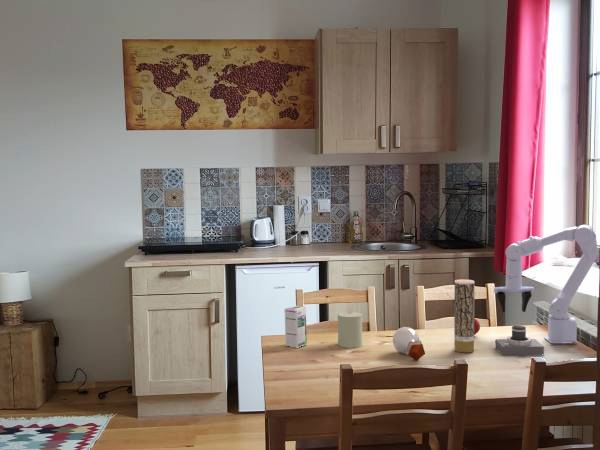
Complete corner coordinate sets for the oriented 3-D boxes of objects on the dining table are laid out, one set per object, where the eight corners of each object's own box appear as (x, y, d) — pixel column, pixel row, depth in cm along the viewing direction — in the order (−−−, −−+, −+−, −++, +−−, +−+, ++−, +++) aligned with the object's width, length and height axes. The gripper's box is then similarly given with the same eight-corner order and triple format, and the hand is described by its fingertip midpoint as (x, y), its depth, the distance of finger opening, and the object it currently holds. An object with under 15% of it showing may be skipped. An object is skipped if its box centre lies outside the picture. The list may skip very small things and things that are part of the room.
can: (362, 341, 261) (362, 310, 259) (362, 348, 252) (362, 315, 250) (338, 341, 262) (337, 310, 260) (337, 348, 252) (336, 315, 251)
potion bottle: (403, 352, 250) (419, 369, 236) (383, 339, 247) (398, 355, 233) (418, 331, 250) (435, 347, 235) (398, 318, 247) (414, 333, 233)
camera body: (534, 346, 249) (534, 334, 249) (543, 355, 239) (543, 342, 239) (495, 347, 250) (495, 334, 249) (502, 355, 240) (502, 342, 239)
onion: (481, 338, 263) (481, 317, 262) (466, 338, 263) (466, 317, 262) (477, 334, 269) (478, 313, 268) (462, 334, 269) (463, 313, 268)
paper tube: (474, 353, 242) (474, 283, 240) (454, 353, 243) (454, 282, 241) (473, 348, 249) (474, 279, 246) (454, 347, 250) (454, 279, 248)
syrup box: (297, 348, 252) (297, 309, 251) (285, 346, 256) (284, 307, 254) (307, 345, 257) (306, 306, 255) (294, 342, 260) (293, 304, 259)
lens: (522, 340, 247) (523, 325, 246) (527, 344, 242) (527, 328, 242) (509, 340, 247) (509, 325, 246) (514, 344, 242) (514, 328, 242)
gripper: (530, 273, 265) (529, 308, 266) (491, 274, 265) (491, 309, 266) (535, 277, 258) (535, 313, 259) (496, 277, 258) (496, 313, 259)
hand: (513, 311), depth 262 cm, fingers open, 7 cm apart
